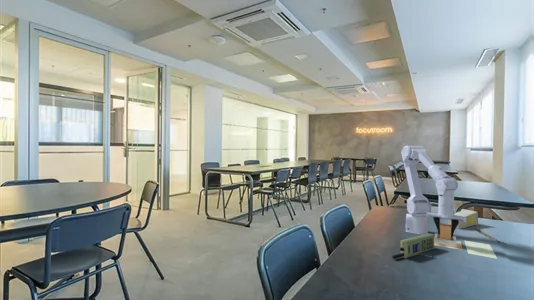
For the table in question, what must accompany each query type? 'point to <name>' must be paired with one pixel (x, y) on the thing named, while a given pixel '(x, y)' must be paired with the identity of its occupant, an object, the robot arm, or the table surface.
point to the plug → (445, 231)
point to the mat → (480, 249)
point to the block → (470, 218)
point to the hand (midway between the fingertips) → (445, 235)
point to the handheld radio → (415, 245)
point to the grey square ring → (445, 241)
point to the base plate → (451, 247)
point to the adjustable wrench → (488, 235)
